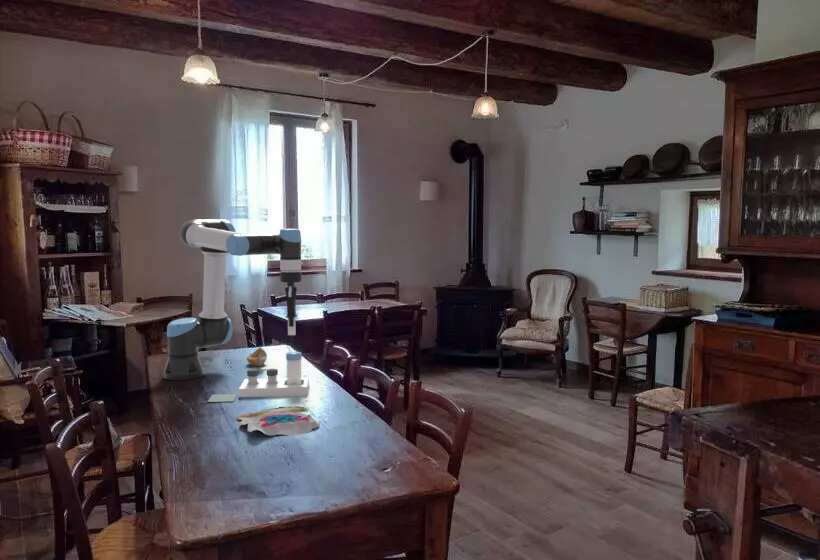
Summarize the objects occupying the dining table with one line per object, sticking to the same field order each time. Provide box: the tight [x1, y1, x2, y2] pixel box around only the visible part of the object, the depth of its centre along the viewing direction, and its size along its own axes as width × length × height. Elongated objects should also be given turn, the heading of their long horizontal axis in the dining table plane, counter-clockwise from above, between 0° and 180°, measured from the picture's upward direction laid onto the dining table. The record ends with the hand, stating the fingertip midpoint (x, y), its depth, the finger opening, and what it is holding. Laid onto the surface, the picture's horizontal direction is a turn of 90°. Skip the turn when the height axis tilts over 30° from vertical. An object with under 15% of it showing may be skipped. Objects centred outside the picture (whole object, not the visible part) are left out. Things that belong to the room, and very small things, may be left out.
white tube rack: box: [238, 376, 310, 398], centre depth 223 cm, size 14×24×4 cm, turn 97°
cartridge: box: [285, 351, 302, 385], centre depth 223 cm, size 6×6×14 cm
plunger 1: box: [246, 368, 259, 385], centre depth 222 cm, size 4×4×7 cm
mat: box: [206, 393, 239, 403], centre depth 216 cm, size 9×9×1 cm
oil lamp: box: [246, 346, 268, 367], centre depth 268 cm, size 9×21×10 cm, turn 24°
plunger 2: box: [266, 368, 279, 385], centre depth 222 cm, size 4×4×7 cm
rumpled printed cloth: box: [236, 406, 321, 437], centre depth 192 cm, size 24×29×3 cm
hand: (291, 334), depth 222 cm, fingers closed
